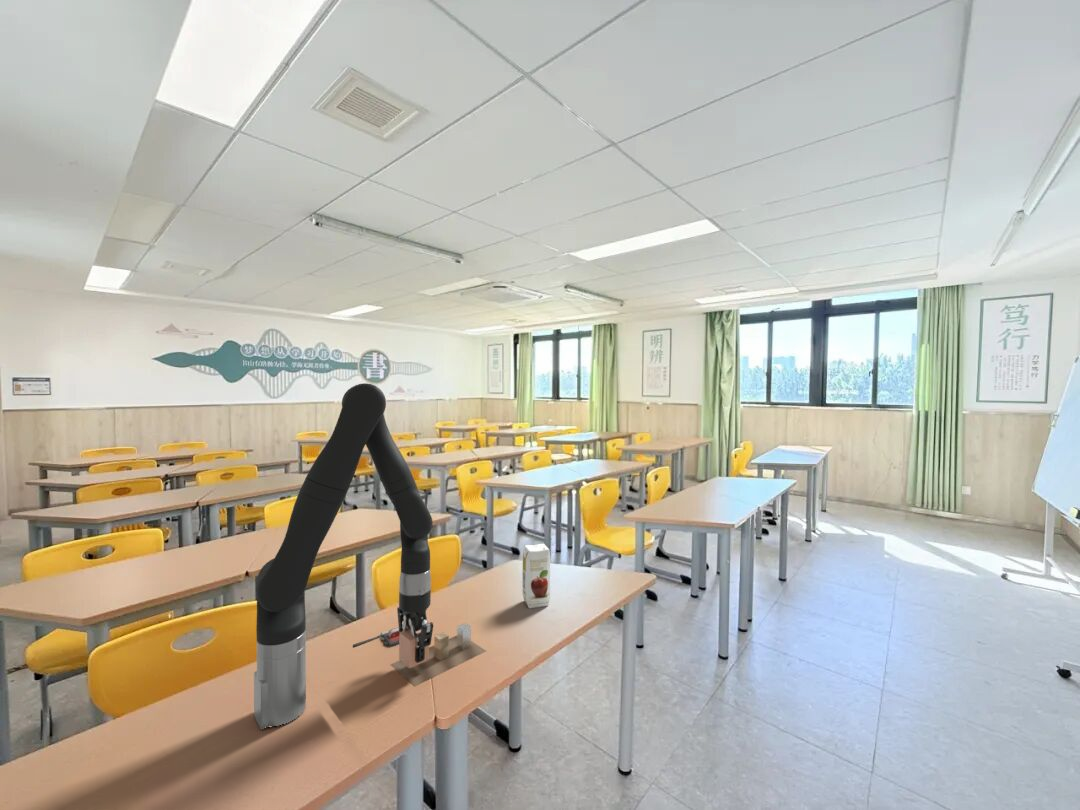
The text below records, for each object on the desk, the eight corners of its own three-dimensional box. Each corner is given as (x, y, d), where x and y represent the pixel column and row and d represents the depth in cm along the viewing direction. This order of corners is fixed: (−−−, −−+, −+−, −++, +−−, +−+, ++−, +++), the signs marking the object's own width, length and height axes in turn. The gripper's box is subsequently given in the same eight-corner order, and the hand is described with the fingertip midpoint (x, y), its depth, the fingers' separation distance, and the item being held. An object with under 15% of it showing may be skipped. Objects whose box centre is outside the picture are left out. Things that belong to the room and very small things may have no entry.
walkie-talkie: (420, 626, 135) (351, 649, 122) (420, 612, 135) (351, 633, 122) (433, 639, 128) (361, 664, 115) (433, 624, 128) (361, 648, 115)
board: (414, 692, 104) (414, 663, 104) (390, 670, 112) (390, 642, 112) (486, 656, 119) (486, 630, 119) (460, 639, 127) (460, 614, 127)
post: (462, 650, 119) (462, 629, 119) (457, 646, 121) (457, 626, 121) (470, 646, 121) (470, 626, 121) (465, 642, 123) (465, 622, 123)
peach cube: (409, 668, 107) (409, 640, 107) (399, 659, 110) (399, 632, 110) (428, 659, 110) (429, 633, 110) (418, 651, 114) (418, 625, 114)
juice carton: (520, 600, 152) (521, 544, 152) (544, 596, 155) (545, 542, 154) (526, 610, 145) (527, 551, 144) (552, 606, 147) (552, 549, 147)
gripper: (387, 582, 113) (386, 649, 113) (415, 601, 102) (414, 675, 103) (414, 575, 118) (413, 639, 118) (444, 592, 108) (442, 662, 108)
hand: (413, 655), depth 110 cm, fingers closed on peach cube, 5 cm apart
